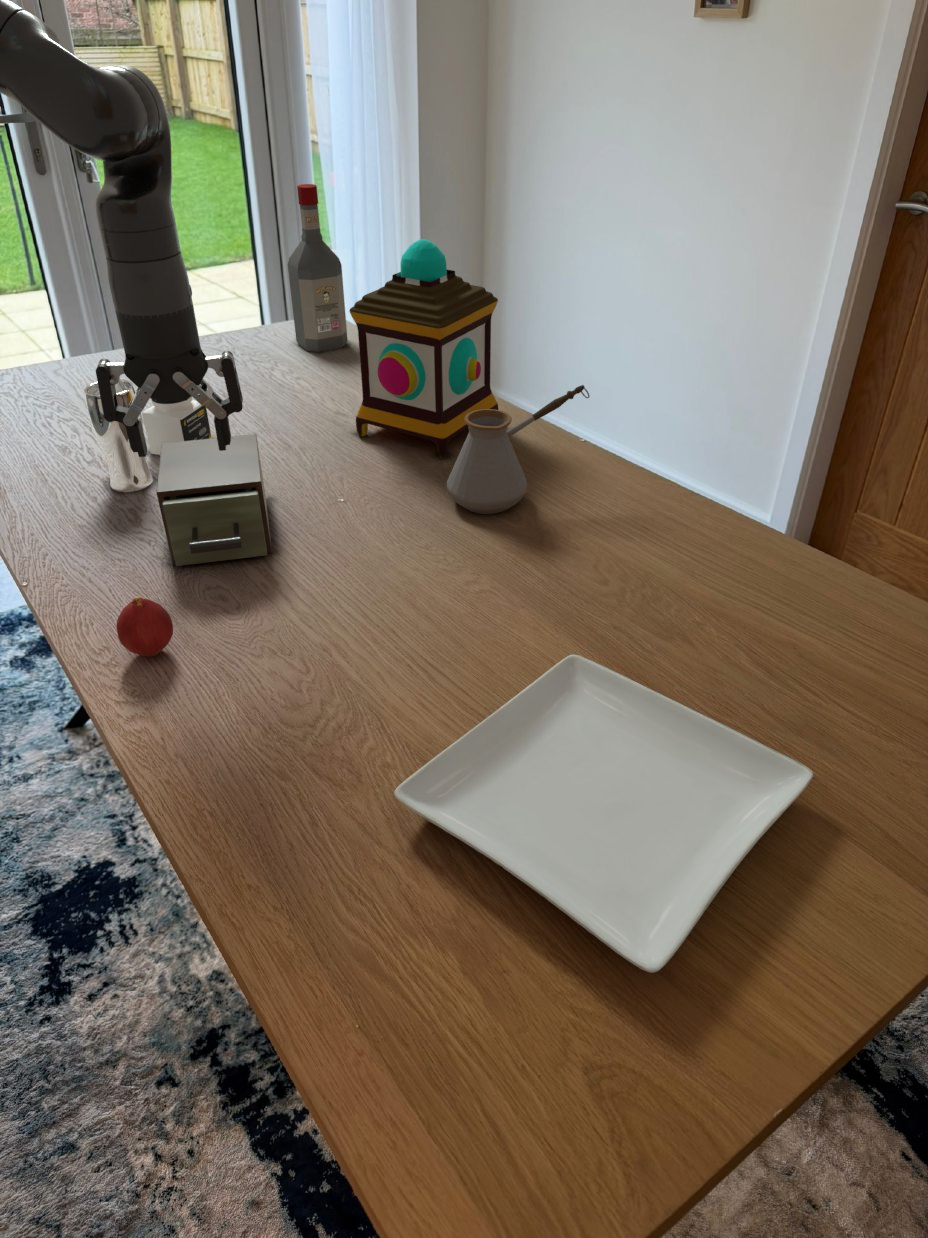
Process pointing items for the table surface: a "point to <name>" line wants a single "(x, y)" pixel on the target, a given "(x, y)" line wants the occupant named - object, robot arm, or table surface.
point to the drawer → (215, 526)
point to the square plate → (609, 803)
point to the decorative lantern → (424, 349)
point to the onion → (144, 627)
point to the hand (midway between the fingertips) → (183, 450)
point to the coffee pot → (493, 460)
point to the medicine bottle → (175, 423)
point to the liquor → (316, 283)
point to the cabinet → (211, 472)
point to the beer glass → (117, 441)
